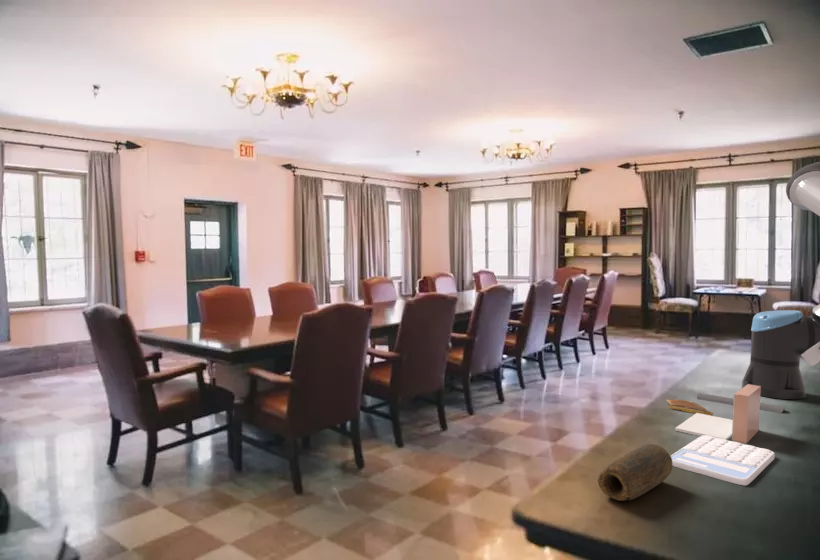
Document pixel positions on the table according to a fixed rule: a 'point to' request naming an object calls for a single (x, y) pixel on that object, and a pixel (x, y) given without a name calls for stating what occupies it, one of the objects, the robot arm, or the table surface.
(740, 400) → the terracotta tile
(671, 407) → the shard
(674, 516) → the table surface
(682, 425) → the white rectangular slab
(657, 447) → the stone weight
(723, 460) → the calculator
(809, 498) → the table surface
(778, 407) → the gray half cylinder
